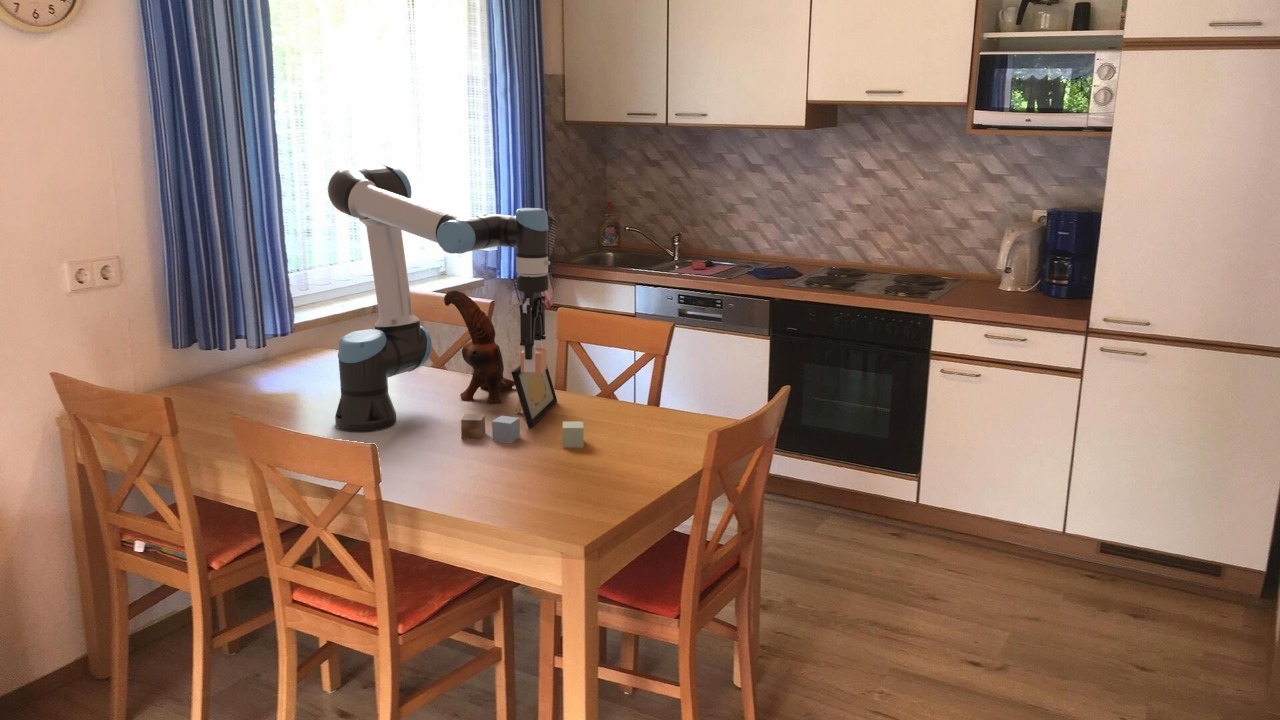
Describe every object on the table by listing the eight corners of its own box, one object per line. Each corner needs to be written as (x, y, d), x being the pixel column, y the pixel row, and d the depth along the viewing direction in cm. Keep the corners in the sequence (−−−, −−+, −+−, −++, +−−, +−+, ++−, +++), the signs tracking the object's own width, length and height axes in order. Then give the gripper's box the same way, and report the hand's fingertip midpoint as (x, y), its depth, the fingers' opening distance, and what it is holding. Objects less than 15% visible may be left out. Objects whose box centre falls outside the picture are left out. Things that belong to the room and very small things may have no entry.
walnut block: (461, 439, 245) (461, 419, 244) (465, 432, 250) (464, 413, 249) (481, 439, 245) (481, 420, 244) (485, 433, 250) (484, 414, 249)
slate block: (492, 440, 245) (492, 421, 243) (501, 434, 249) (501, 415, 248) (511, 443, 243) (510, 423, 242) (519, 437, 248) (519, 417, 246)
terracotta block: (520, 372, 241) (520, 352, 239) (527, 367, 245) (526, 347, 244) (540, 373, 240) (540, 353, 239) (546, 368, 245) (546, 348, 243)
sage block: (562, 447, 241) (562, 427, 239) (562, 440, 245) (562, 421, 244) (583, 447, 241) (583, 427, 240) (583, 440, 246) (583, 421, 244)
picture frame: (532, 427, 254) (525, 370, 251) (499, 428, 256) (491, 372, 253) (557, 402, 276) (551, 350, 273) (527, 403, 278) (520, 351, 275)
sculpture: (440, 396, 281) (436, 291, 274) (485, 382, 296) (483, 282, 289) (490, 407, 271) (487, 298, 264) (533, 392, 286) (532, 289, 279)
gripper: (536, 281, 228) (537, 379, 233) (557, 269, 245) (558, 361, 250) (505, 279, 229) (506, 377, 235) (528, 267, 246) (529, 359, 252)
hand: (533, 368), depth 243 cm, fingers closed on terracotta block, 5 cm apart
